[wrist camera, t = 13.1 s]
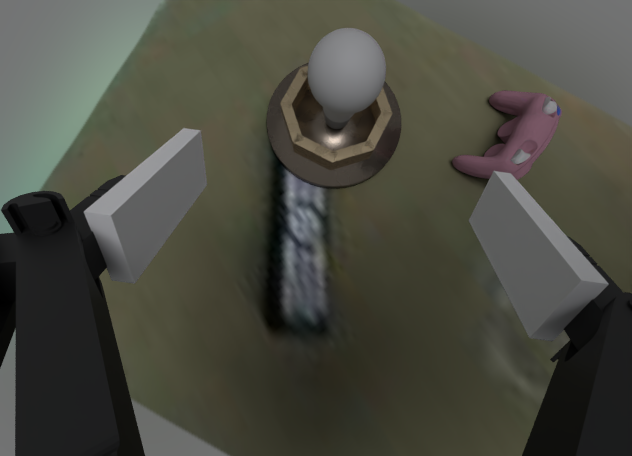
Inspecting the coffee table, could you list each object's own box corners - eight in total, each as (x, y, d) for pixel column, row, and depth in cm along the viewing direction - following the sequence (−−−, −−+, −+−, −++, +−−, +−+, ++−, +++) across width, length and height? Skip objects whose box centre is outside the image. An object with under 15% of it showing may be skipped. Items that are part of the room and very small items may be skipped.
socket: (419, 99, 34) (432, 80, 31) (363, 211, 33) (369, 204, 29) (305, 43, 35) (305, 18, 31) (244, 150, 33) (236, 136, 30)
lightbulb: (297, 106, 33) (294, 23, 22) (350, 85, 33) (373, -5, 22) (320, 158, 32) (329, 99, 21) (374, 136, 33) (410, 68, 22)
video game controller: (469, 189, 35) (534, 190, 28) (445, 163, 33) (509, 158, 27) (510, 118, 36) (581, 104, 30) (489, 90, 34) (560, 68, 28)
